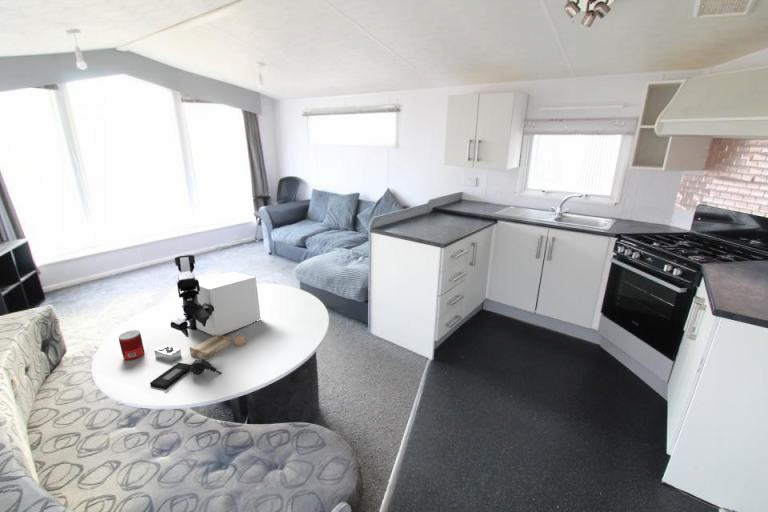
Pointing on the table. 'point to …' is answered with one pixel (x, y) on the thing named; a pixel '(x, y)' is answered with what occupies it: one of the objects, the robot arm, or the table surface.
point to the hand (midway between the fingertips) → (195, 331)
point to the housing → (167, 353)
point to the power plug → (201, 367)
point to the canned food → (131, 345)
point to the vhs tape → (171, 376)
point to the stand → (210, 346)
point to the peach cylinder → (239, 340)
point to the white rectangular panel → (229, 302)
